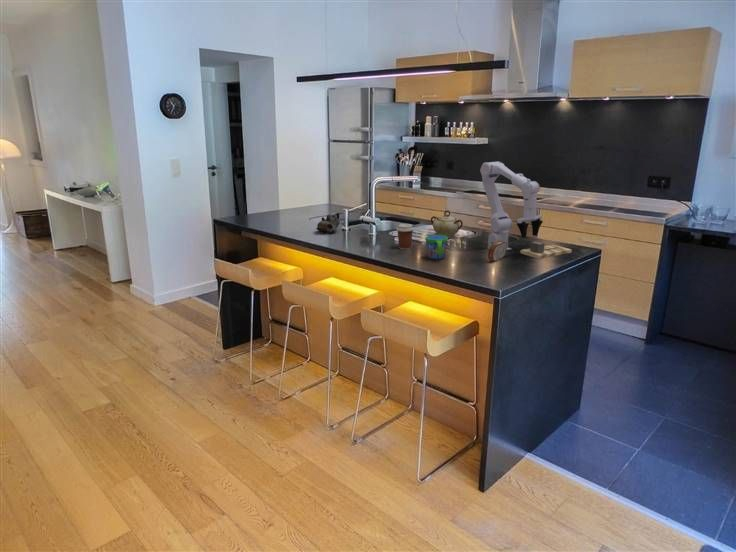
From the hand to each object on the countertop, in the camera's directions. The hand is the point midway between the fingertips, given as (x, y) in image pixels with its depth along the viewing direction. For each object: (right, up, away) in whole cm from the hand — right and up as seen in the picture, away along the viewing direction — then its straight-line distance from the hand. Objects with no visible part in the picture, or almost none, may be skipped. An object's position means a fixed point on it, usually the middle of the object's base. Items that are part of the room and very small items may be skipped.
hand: (529, 236), depth 241 cm
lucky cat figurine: (-100, +7, +62) cm, 118 cm away
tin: (-16, -11, -1) cm, 19 cm away
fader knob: (+5, -7, +5) cm, 10 cm away
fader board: (+11, -7, +8) cm, 15 cm away
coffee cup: (-57, -4, +22) cm, 62 cm away
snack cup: (-44, -10, +3) cm, 45 cm away
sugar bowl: (-33, +3, +45) cm, 56 cm away
